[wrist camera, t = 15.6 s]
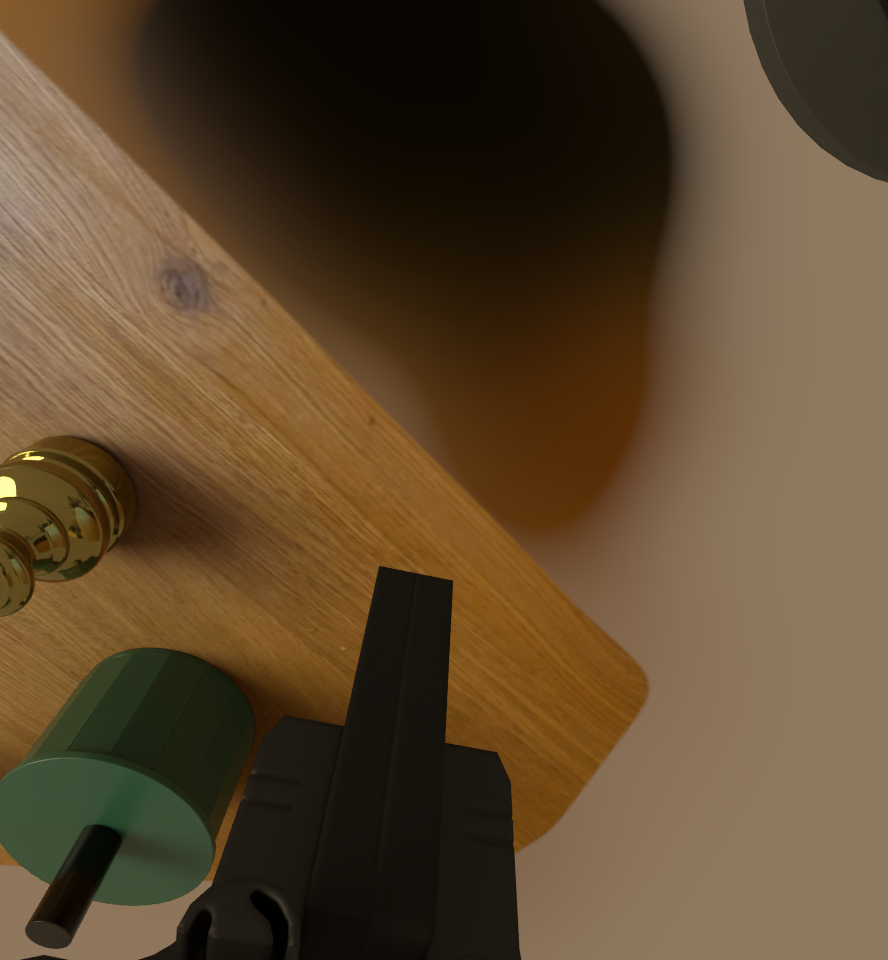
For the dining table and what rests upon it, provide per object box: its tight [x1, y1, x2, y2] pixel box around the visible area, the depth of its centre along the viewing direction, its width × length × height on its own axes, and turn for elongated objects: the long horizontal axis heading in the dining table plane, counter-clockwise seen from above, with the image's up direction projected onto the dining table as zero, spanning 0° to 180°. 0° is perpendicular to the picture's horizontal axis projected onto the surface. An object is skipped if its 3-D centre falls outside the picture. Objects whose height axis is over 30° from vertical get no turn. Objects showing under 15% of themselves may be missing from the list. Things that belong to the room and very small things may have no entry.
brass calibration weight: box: [0, 437, 136, 617], centre depth 36 cm, size 7×7×10 cm
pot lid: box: [0, 751, 216, 949], centre depth 38 cm, size 13×13×7 cm
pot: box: [21, 648, 255, 840], centre depth 44 cm, size 12×12×9 cm
